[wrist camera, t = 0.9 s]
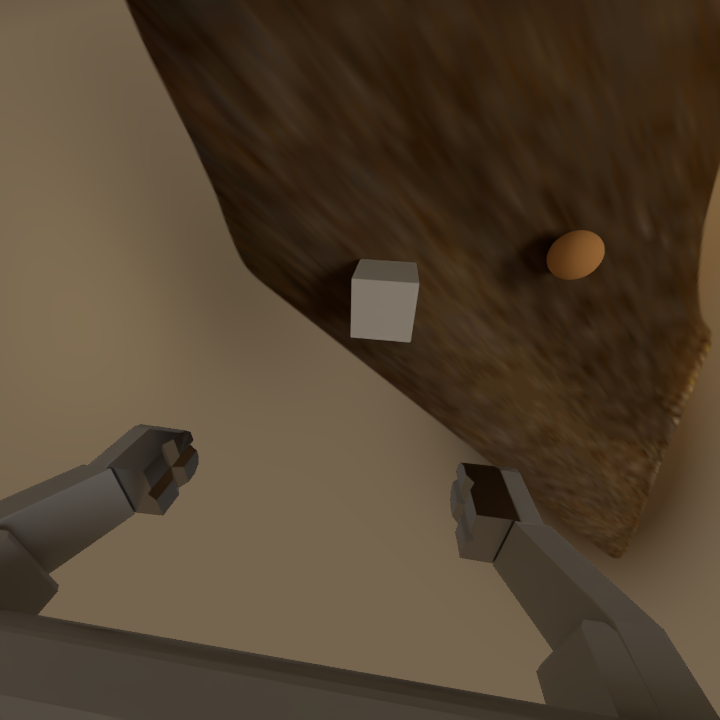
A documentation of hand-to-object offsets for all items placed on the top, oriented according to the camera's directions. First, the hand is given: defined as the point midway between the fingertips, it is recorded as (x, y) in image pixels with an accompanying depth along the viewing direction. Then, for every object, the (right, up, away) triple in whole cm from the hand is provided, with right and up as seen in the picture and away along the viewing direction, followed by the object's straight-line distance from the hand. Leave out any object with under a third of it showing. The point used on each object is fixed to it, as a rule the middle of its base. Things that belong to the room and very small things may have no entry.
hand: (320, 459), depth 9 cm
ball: (+24, +14, +22) cm, 36 cm away
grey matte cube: (+5, +13, +29) cm, 32 cm away
